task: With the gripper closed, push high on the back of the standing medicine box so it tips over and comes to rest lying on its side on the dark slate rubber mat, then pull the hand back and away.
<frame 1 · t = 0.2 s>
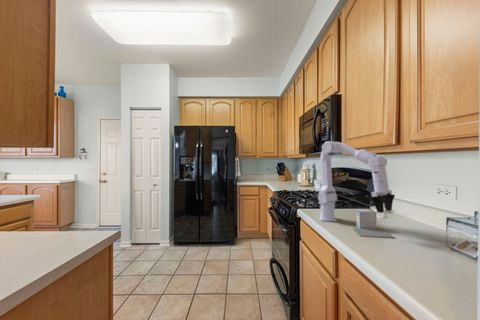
hand: (384, 211, 106), 11 cm above the counter, tool pointing down, fingers open, 7 cm apart
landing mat: (372, 233, 108), on the counter
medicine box: (366, 228, 116), on the counter
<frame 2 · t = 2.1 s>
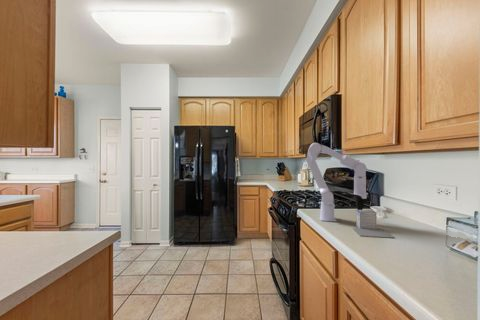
hand: (359, 209, 126), 7 cm above the counter, tool pointing down, fingers closed
nothing on the counter moved.
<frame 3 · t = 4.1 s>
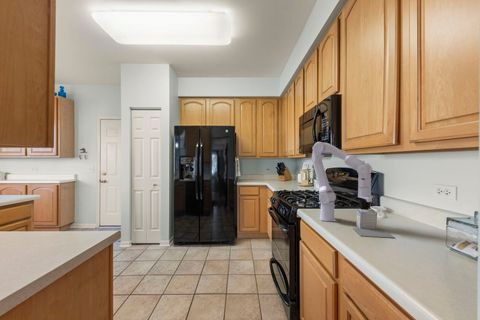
hand: (364, 213, 119), 6 cm above the counter, tool pointing down, fingers closed
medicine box: (366, 228, 116), on the counter, touching gripper
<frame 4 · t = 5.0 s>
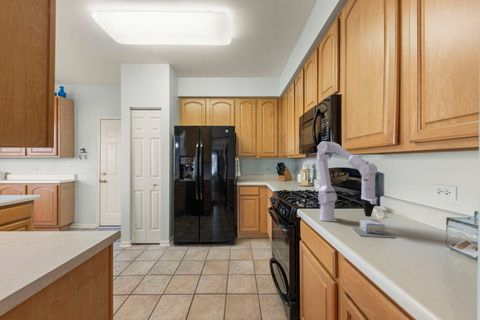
hand: (368, 216, 114), 6 cm above the counter, tool pointing down, fingers closed
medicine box: (367, 223, 115), point 3 cm above the counter, touching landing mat
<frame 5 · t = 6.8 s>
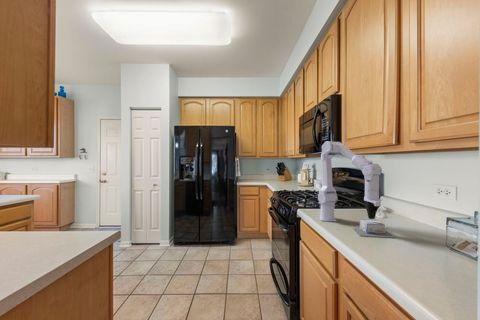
hand: (371, 218, 109), 6 cm above the counter, tool pointing down, fingers closed
nothing on the counter moved.
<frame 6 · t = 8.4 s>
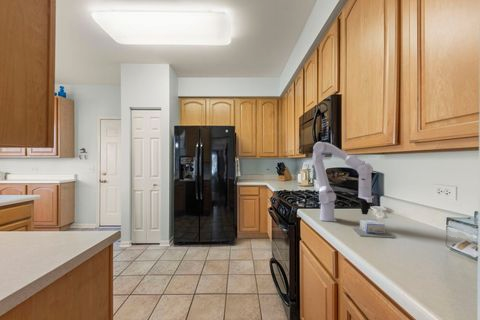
hand: (364, 214, 118), 6 cm above the counter, tool pointing down, fingers closed
nothing on the counter moved.
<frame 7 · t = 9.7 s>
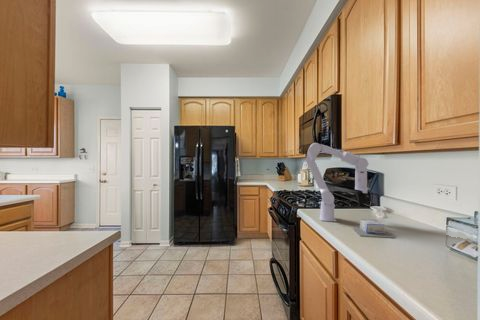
hand: (360, 204, 127), 9 cm above the counter, tool pointing down, fingers closed
nothing on the counter moved.
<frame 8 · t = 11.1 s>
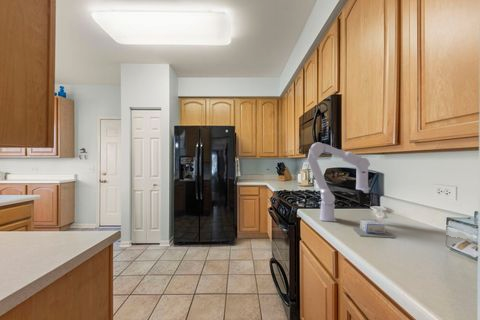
hand: (361, 204, 129), 9 cm above the counter, tool pointing down, fingers closed
nothing on the counter moved.
at the end: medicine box tilted 89°; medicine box touching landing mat; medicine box inside the target area (4.3 cm from its centre), point 2.5 cm above the counter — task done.
